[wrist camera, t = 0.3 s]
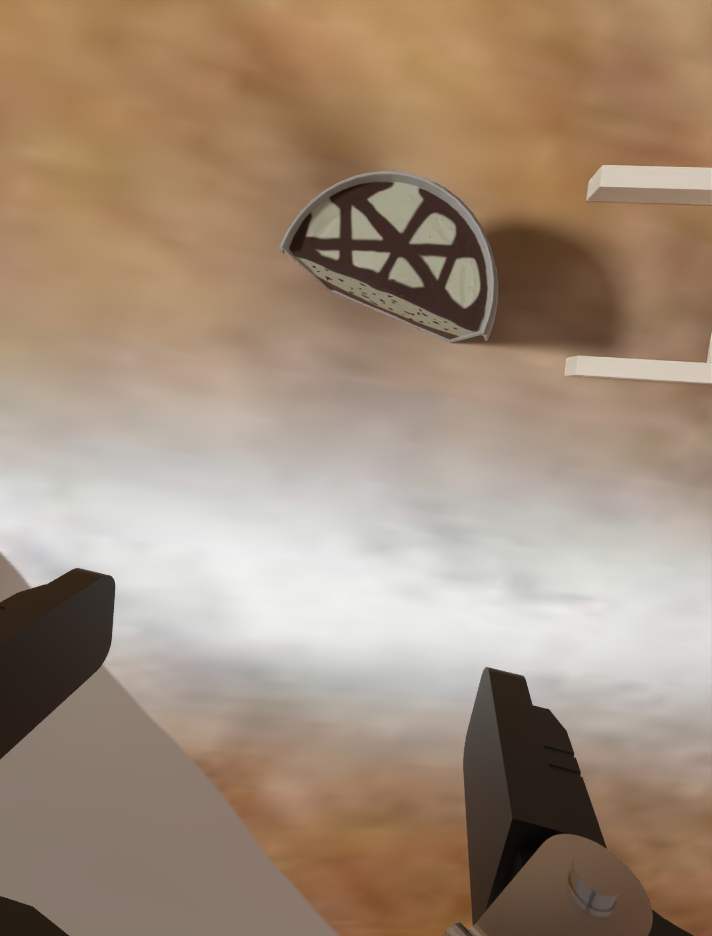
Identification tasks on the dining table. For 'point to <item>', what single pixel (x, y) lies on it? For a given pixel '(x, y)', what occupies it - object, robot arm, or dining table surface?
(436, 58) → the dining table surface
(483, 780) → the robot arm
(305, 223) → the food container
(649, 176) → the bay
